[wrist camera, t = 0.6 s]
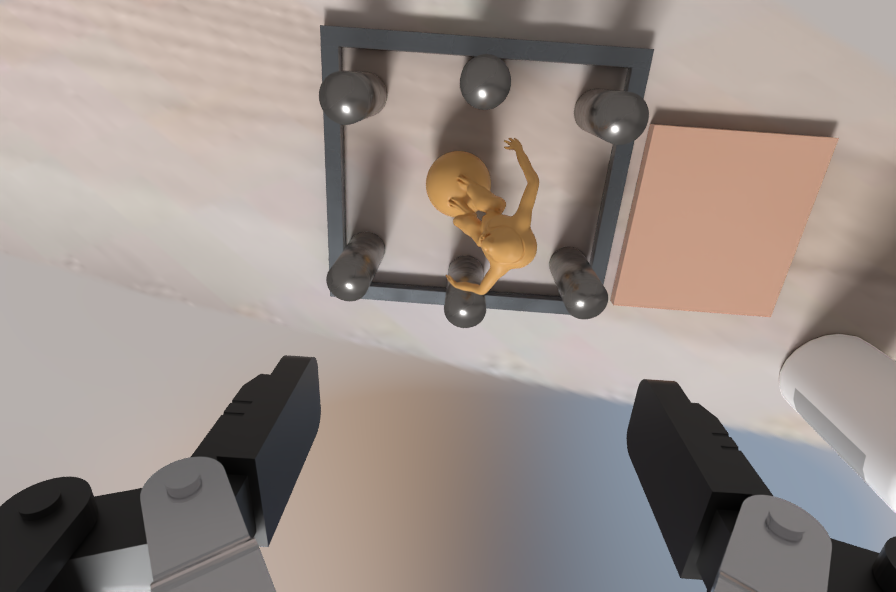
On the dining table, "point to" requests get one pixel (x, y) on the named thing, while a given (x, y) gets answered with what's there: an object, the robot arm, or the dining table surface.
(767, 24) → the dining table surface
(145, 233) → the dining table surface
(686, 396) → the robot arm
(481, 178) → the figurine
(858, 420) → the white piece
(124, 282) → the dining table surface
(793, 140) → the terracotta tile
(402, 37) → the standoff field
